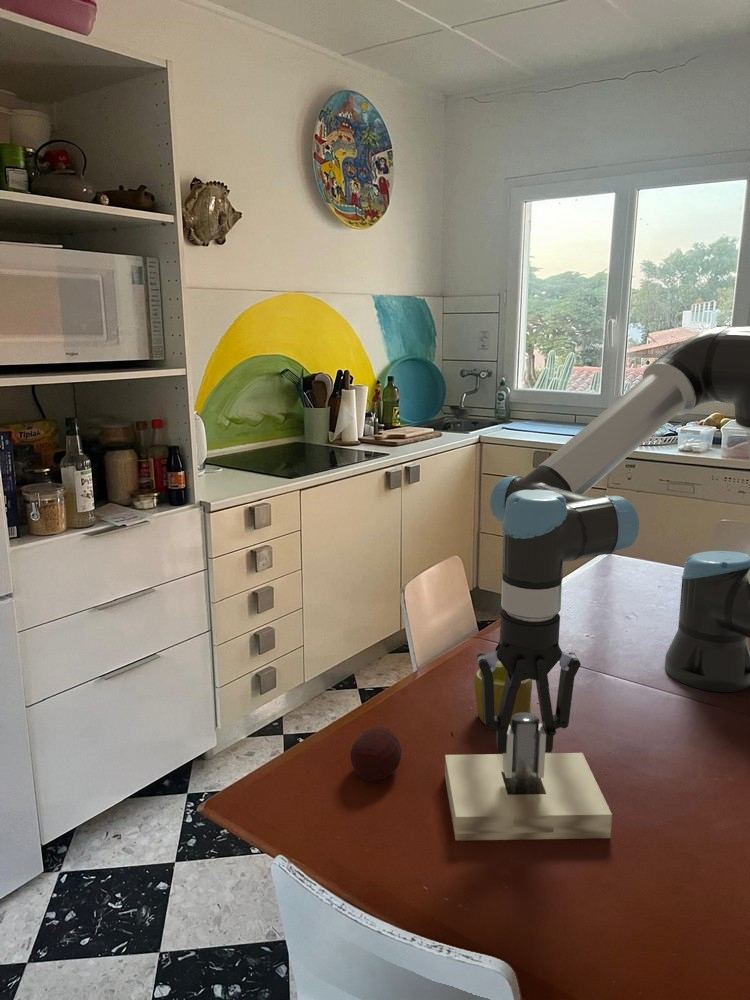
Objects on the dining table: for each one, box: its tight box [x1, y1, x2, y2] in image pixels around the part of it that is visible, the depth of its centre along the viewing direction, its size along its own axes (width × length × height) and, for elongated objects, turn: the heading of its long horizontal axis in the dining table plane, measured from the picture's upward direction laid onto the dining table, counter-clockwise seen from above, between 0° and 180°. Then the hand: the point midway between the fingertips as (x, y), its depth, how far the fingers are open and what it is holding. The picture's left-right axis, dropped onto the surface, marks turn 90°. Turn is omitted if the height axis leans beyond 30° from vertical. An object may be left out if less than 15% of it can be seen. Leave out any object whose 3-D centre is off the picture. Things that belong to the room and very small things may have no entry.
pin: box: [508, 712, 540, 795], centre depth 104 cm, size 4×4×12 cm
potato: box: [350, 726, 402, 782], centre depth 113 cm, size 7×10×6 cm
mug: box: [474, 661, 533, 726], centre depth 128 cm, size 12×10×10 cm
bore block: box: [444, 752, 613, 842], centre depth 105 cm, size 20×14×4 cm
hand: (522, 771), depth 104 cm, fingers closed on pin, 4 cm apart
